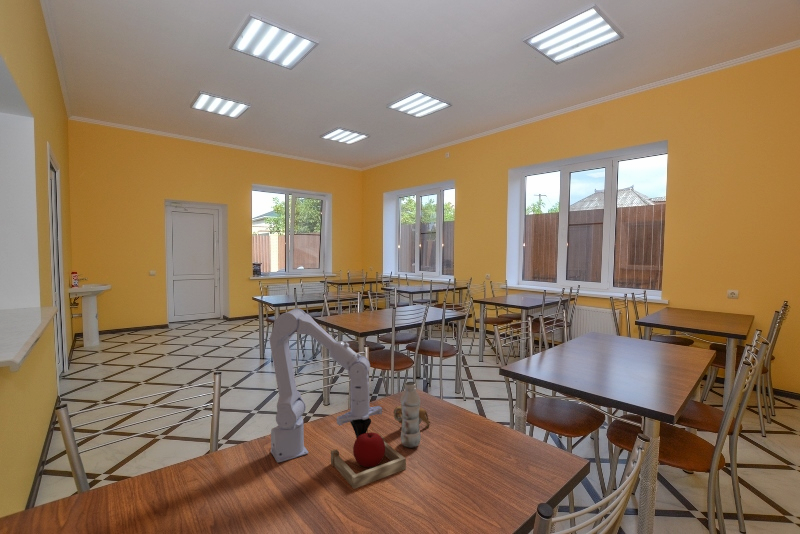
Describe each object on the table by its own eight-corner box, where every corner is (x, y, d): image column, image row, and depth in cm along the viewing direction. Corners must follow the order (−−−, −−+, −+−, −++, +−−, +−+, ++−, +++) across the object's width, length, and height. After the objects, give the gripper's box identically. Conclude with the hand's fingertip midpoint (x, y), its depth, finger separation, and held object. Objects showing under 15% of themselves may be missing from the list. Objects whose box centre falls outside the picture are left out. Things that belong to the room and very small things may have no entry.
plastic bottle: (421, 440, 124) (420, 380, 123) (420, 451, 117) (420, 387, 116) (401, 439, 124) (401, 379, 124) (399, 450, 118) (399, 386, 117)
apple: (355, 474, 105) (355, 439, 104) (351, 457, 114) (351, 424, 113) (388, 469, 107) (387, 435, 107) (381, 453, 116) (381, 421, 115)
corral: (352, 489, 98) (352, 475, 98) (330, 463, 110) (330, 451, 110) (406, 468, 108) (406, 455, 107) (381, 447, 120) (381, 435, 119)
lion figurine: (397, 436, 126) (397, 410, 126) (390, 430, 131) (390, 404, 131) (434, 426, 133) (434, 401, 133) (426, 420, 138) (426, 396, 138)
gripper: (343, 408, 107) (344, 454, 108) (387, 397, 115) (387, 440, 116) (333, 400, 113) (334, 444, 114) (375, 390, 121) (376, 431, 122)
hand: (360, 441), depth 115 cm, fingers closed, pressing on apple
